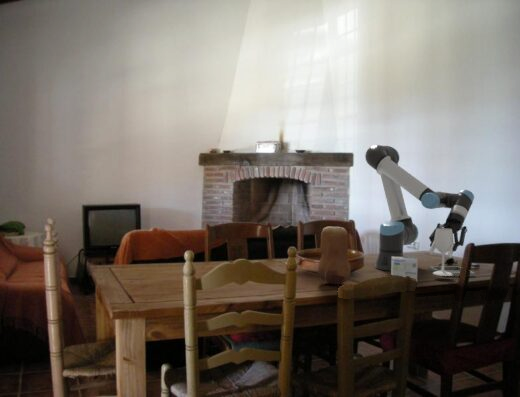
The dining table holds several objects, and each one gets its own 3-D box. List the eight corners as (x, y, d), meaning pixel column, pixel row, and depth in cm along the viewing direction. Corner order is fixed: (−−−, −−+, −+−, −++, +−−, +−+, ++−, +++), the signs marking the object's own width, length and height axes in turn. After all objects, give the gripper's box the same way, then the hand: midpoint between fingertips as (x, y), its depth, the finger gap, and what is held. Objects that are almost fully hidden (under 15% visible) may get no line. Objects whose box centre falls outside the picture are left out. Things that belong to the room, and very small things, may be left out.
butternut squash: (340, 279, 219) (341, 224, 217) (355, 286, 206) (357, 227, 205) (312, 281, 214) (313, 224, 213) (326, 288, 201) (328, 228, 200)
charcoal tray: (442, 276, 230) (442, 272, 230) (428, 269, 246) (428, 266, 246) (475, 276, 231) (475, 272, 231) (458, 269, 247) (458, 266, 247)
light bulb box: (414, 280, 221) (415, 256, 220) (417, 283, 214) (418, 259, 214) (390, 279, 222) (390, 255, 221) (392, 282, 215) (393, 258, 215)
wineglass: (428, 273, 227) (429, 228, 226) (443, 271, 230) (444, 227, 229) (442, 277, 219) (443, 230, 218) (457, 275, 222) (458, 229, 221)
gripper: (481, 224, 227) (465, 263, 216) (437, 220, 241) (420, 256, 231) (477, 213, 223) (460, 252, 212) (433, 210, 237) (415, 245, 227)
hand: (439, 254), depth 222 cm, fingers closed on wineglass, 8 cm apart
